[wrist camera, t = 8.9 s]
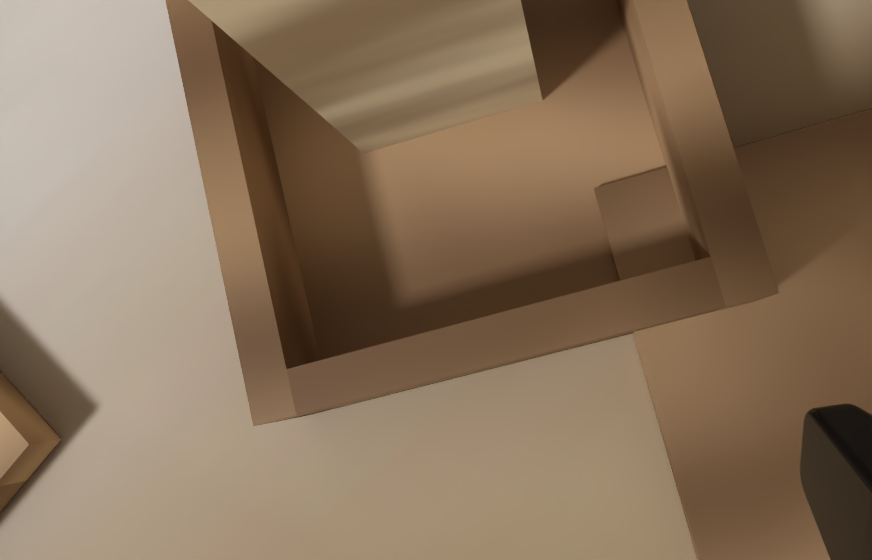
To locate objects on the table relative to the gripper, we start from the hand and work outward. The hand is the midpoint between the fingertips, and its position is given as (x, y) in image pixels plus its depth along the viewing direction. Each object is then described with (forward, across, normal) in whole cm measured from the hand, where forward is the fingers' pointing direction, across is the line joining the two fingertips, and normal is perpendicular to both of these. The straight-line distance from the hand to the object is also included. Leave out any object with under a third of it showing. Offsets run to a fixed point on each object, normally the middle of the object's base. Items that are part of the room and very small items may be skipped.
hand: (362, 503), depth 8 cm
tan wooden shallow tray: (+14, -1, 0) cm, 14 cm away
